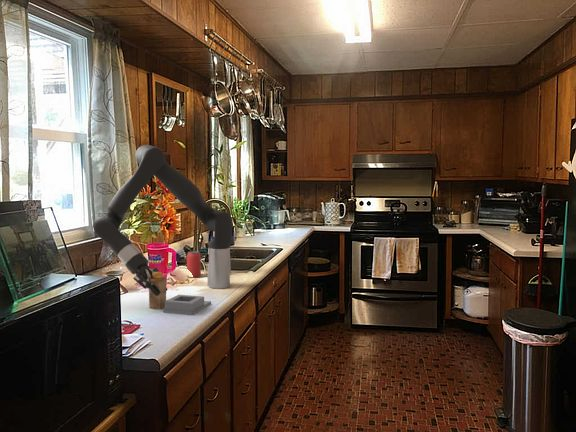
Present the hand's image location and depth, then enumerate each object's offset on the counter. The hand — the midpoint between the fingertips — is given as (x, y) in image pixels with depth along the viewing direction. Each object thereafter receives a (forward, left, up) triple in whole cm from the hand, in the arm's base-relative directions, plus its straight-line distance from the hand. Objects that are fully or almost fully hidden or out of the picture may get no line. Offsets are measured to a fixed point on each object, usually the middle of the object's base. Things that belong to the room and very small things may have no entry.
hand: (162, 292), depth 190 cm
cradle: (+7, +6, -6) cm, 11 cm away
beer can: (-37, +42, -6) cm, 56 cm away
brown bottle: (-2, -1, -6) cm, 6 cm away
